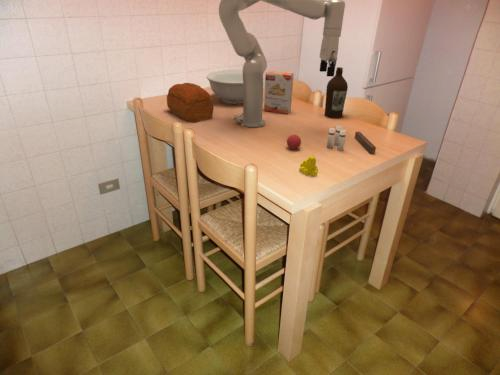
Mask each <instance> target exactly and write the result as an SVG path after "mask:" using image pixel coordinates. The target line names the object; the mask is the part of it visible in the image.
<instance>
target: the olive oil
mask: <svg viewBox="0 0 500 375" xmlns="http://www.w3.org/2000/svg"><path fill="white" fill-rule="evenodd" d="M343 72H344V67H341V66H340V67H339V66H338V67H336V69H335V74H334V76H332V78H331V79H330V80H329V81H328V83H327V85H326V90H325V93H326V94H325V104H324V106H325V107H324V117H325V118H329V119H341V118H342V117H343V114H344V109H345V103H346V102H345V101H346V98H347V93H348V88H349V86H348V82H347V80H346V79H345V78H344V76H343Z"/></svg>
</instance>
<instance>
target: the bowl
mask: <svg viewBox="0 0 500 375" xmlns="http://www.w3.org/2000/svg"><path fill="white" fill-rule="evenodd" d="M242 70H243V69H223V70H217V71H213V72H210V73H208V74H207V75H206V79H207V80H208V81H209V86H210V90H212V93H213V94H215V95H216V96H217V97H219V98H221V101H222V102H223V101H224V102H223V103H226V102H227V103H226V104H231V103H238V104H243V73H242Z"/></svg>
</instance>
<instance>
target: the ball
mask: <svg viewBox="0 0 500 375" xmlns="http://www.w3.org/2000/svg"><path fill="white" fill-rule="evenodd" d="M286 144H287V147H289V149H293V150H294V149H298V148H300V146H301V144H302V139H301V137H300V136H299V135H298V134H291V135H289V136H288V138H287V139H286Z"/></svg>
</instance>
